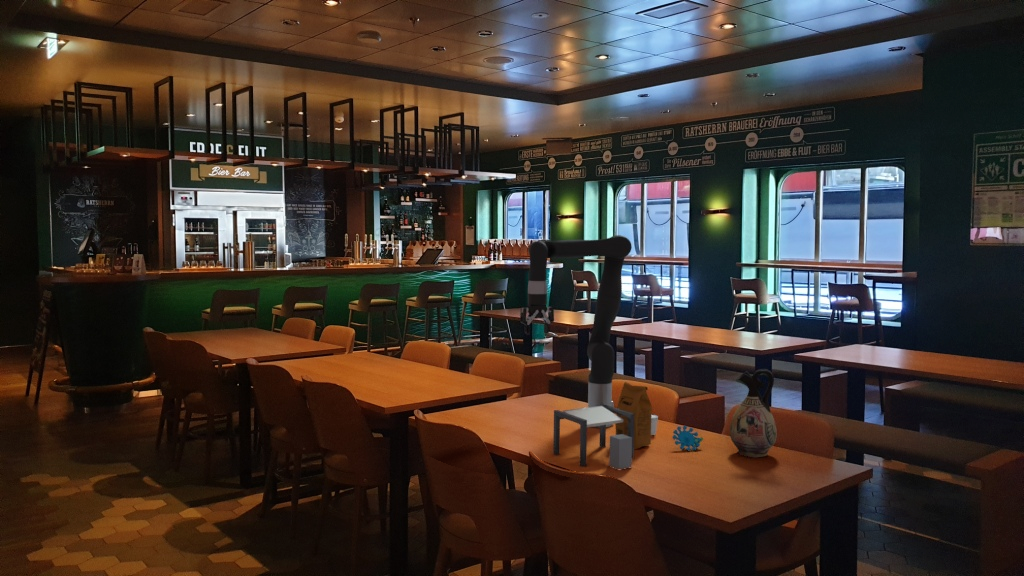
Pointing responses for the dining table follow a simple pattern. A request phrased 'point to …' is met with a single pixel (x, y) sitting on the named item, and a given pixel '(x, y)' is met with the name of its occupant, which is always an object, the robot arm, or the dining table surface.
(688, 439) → the blue knobbed toy
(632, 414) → the frame
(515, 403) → the dining table surface
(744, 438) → the ceramic jug
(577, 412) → the trapdoor
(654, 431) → the shot glass
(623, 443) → the grey rectangular block
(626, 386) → the coffee package
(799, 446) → the dining table surface
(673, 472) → the dining table surface
